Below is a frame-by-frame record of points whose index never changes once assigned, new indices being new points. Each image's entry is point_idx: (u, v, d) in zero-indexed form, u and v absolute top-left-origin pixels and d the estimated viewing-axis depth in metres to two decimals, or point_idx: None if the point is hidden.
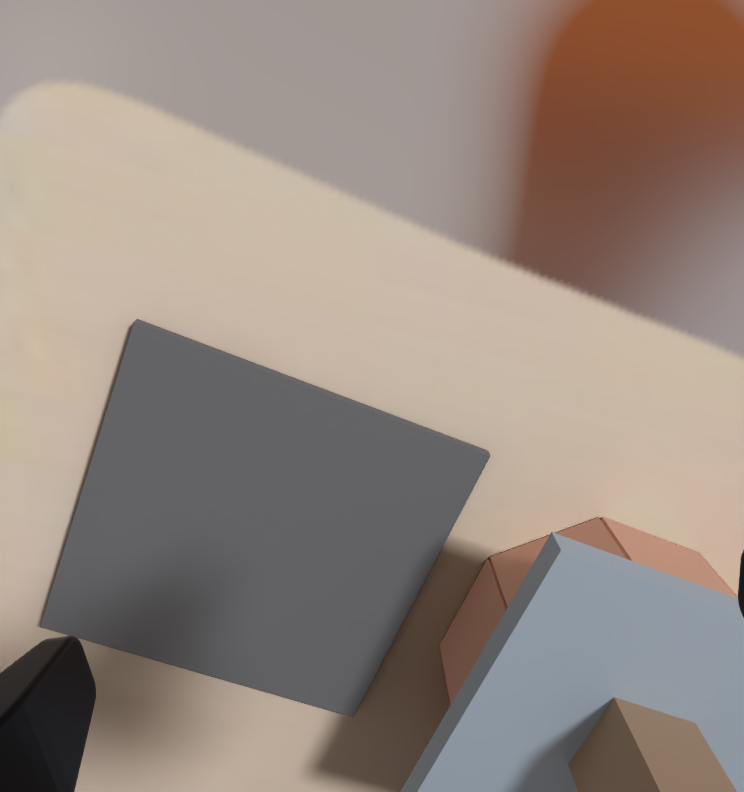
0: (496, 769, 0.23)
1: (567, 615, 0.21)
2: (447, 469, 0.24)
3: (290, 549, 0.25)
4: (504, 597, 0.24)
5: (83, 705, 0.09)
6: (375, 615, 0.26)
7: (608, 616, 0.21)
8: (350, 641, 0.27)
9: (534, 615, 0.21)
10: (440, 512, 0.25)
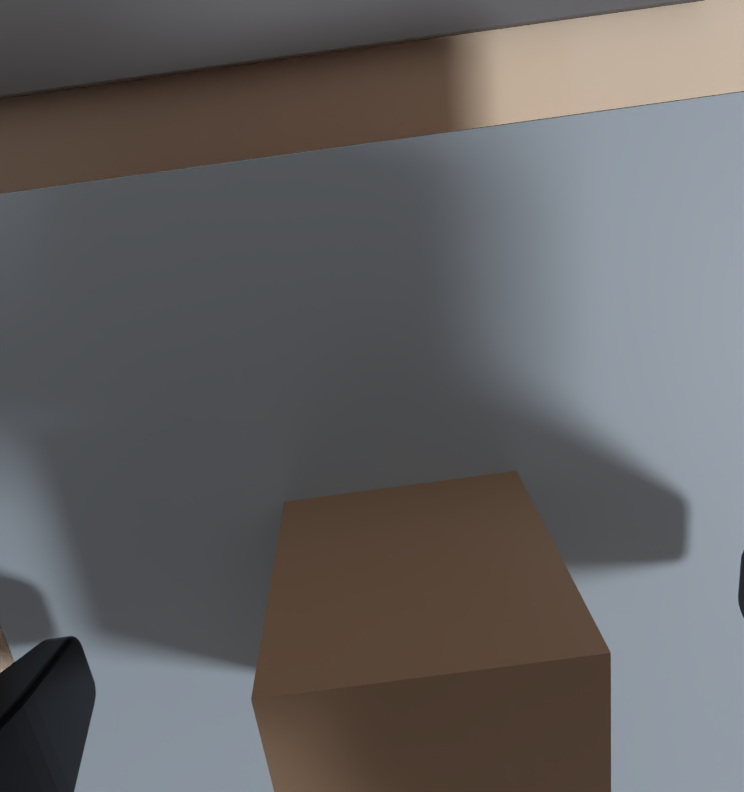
0: (167, 356, 0.08)
1: (698, 218, 0.08)
2: None
3: None
4: None
5: (83, 705, 0.09)
6: None
7: (728, 313, 0.09)
8: None
9: (669, 136, 0.08)
10: None
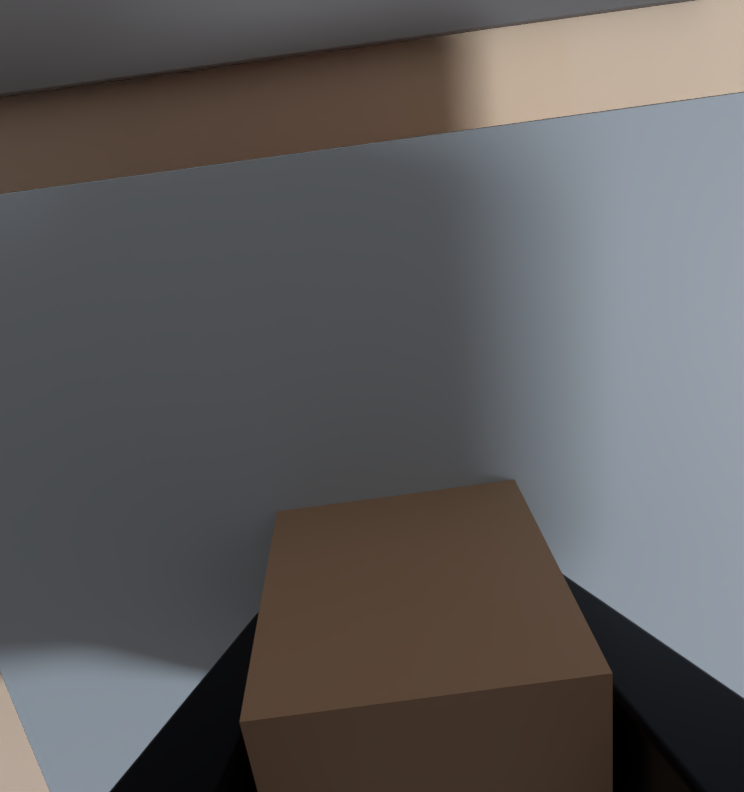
0: (156, 363, 0.08)
1: (701, 221, 0.08)
2: None
3: None
4: None
5: None
6: None
7: (731, 319, 0.08)
8: None
9: (671, 137, 0.08)
10: None
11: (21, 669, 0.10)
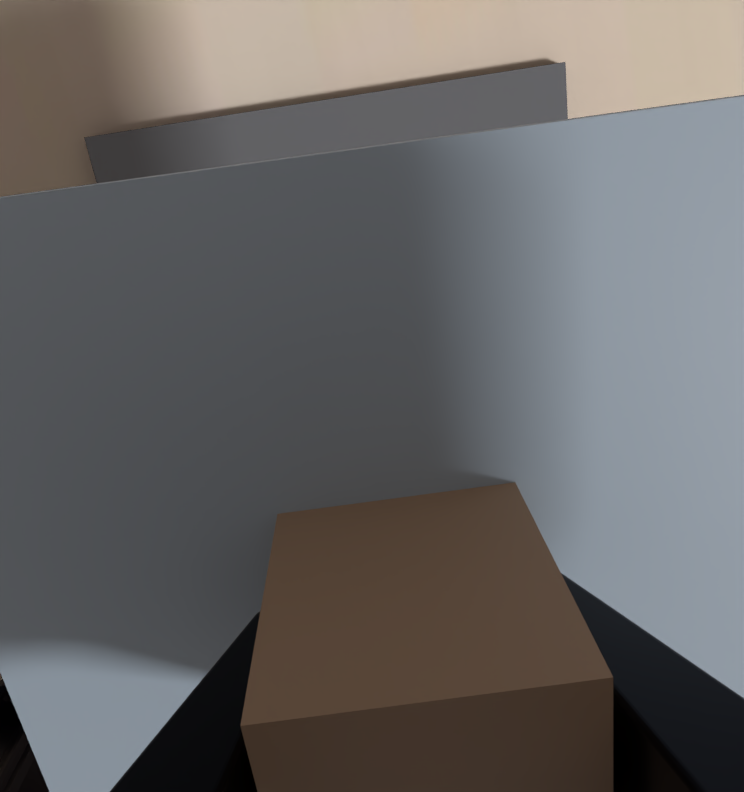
0: (157, 366, 0.08)
1: (701, 224, 0.08)
2: None
3: None
4: None
5: None
6: None
7: (731, 322, 0.08)
8: None
9: (672, 140, 0.08)
10: None
11: (22, 671, 0.10)
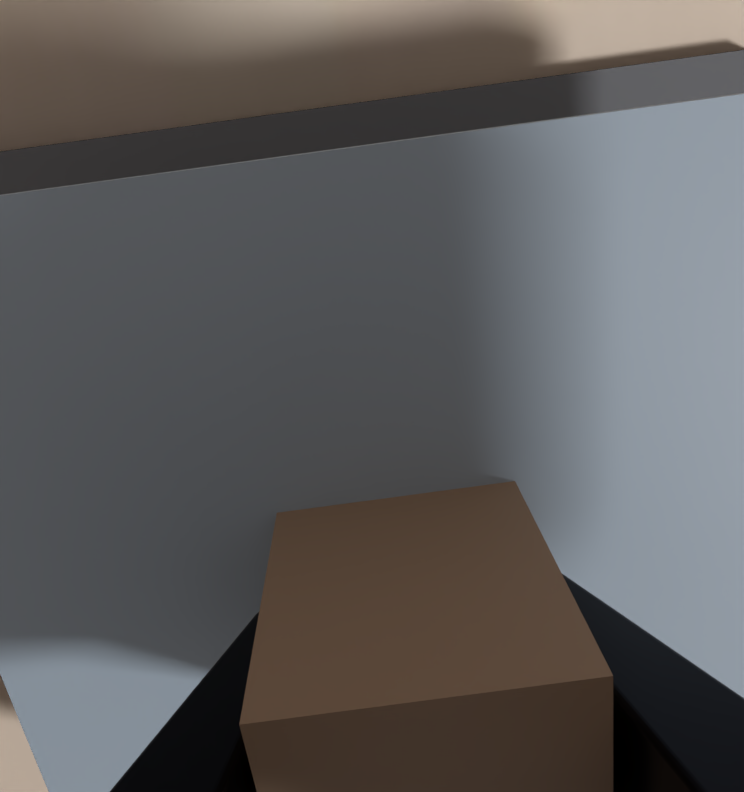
0: (156, 364, 0.08)
1: (701, 222, 0.08)
2: None
3: None
4: None
5: None
6: None
7: (732, 320, 0.08)
8: None
9: (672, 138, 0.08)
10: None
11: (21, 671, 0.10)
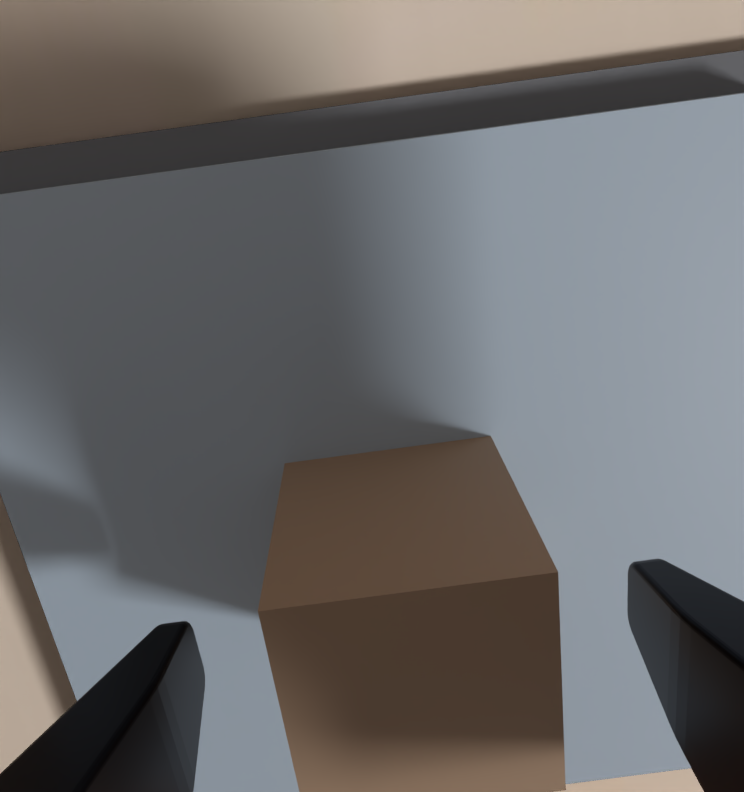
0: (182, 332, 0.10)
1: (646, 211, 0.09)
2: None
3: None
4: None
5: (197, 690, 0.09)
6: None
7: (675, 295, 0.10)
8: None
9: (619, 139, 0.09)
10: None
11: (60, 605, 0.11)
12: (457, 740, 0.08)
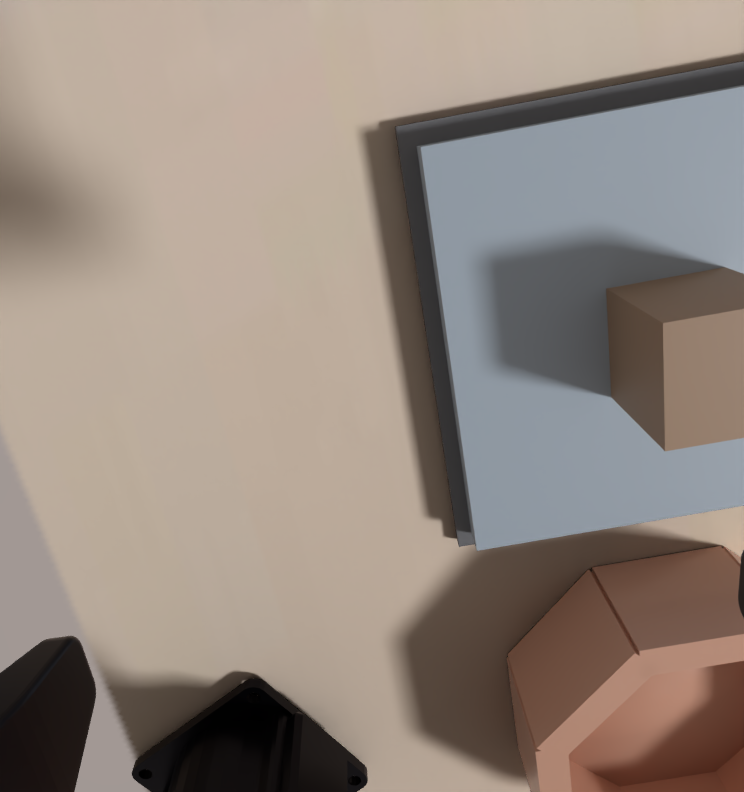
0: (560, 210, 0.17)
1: None
2: None
3: None
4: None
5: (83, 705, 0.09)
6: None
7: None
8: None
9: None
10: None
11: (464, 384, 0.19)
12: None
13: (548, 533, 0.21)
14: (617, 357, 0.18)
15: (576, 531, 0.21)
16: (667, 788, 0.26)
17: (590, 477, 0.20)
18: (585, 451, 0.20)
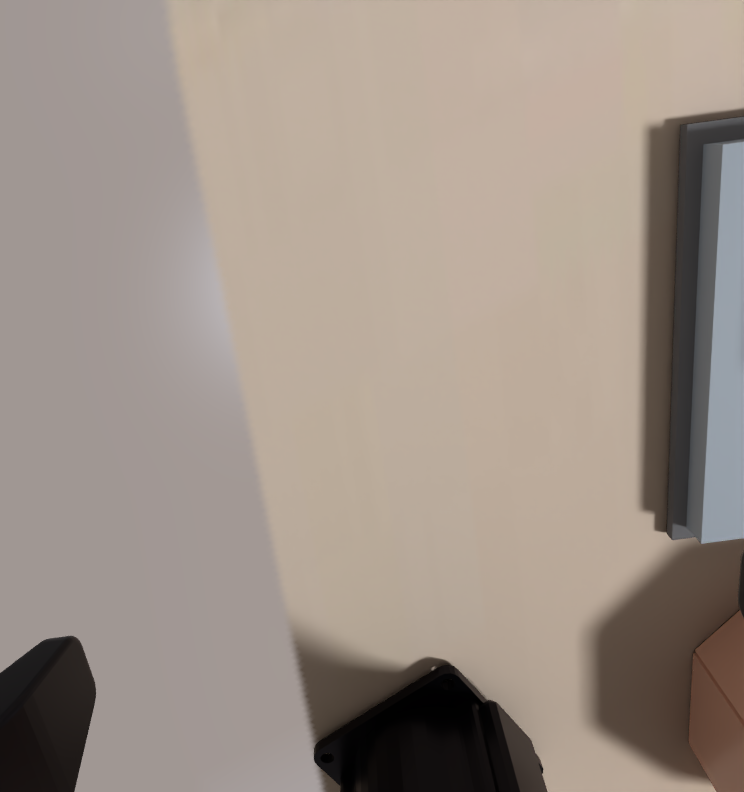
0: None
1: None
2: None
3: None
4: None
5: (83, 705, 0.09)
6: None
7: None
8: None
9: None
10: None
11: (720, 378, 0.20)
12: None
13: None
14: None
15: None
16: None
17: None
18: None
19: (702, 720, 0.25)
